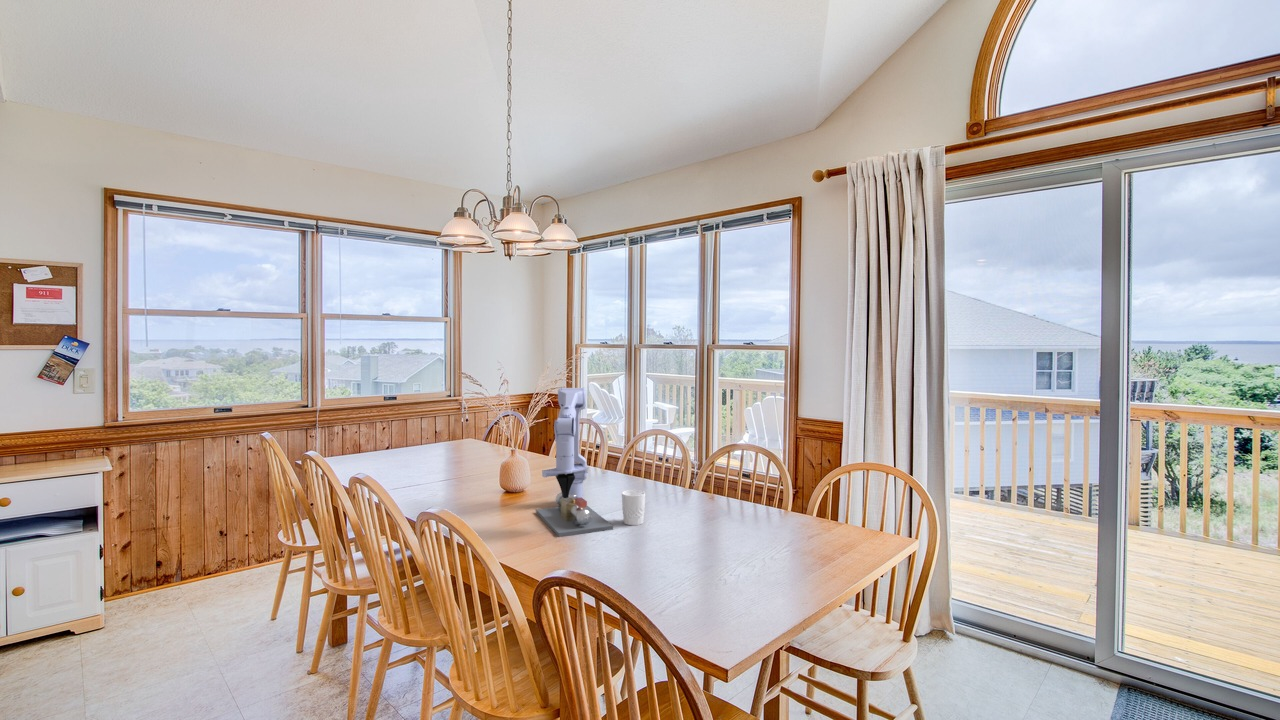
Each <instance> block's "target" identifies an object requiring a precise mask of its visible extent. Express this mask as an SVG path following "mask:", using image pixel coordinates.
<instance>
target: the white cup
mask: <svg viewBox="0 0 1280 720" xmlns="http://www.w3.org/2000/svg"><path fill="white" fill-rule="evenodd" d="M621 503H622V504H621V507H622V516H623V517H622V518H623V519H622V520H623V524H625V525H627V526H639V525H640V526H641V525H642V524H644V520H645V519H644V517H645V509H646V507H645V506H646V491H644V490H640V489H628V490H624V491H622V492H621Z"/></svg>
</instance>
